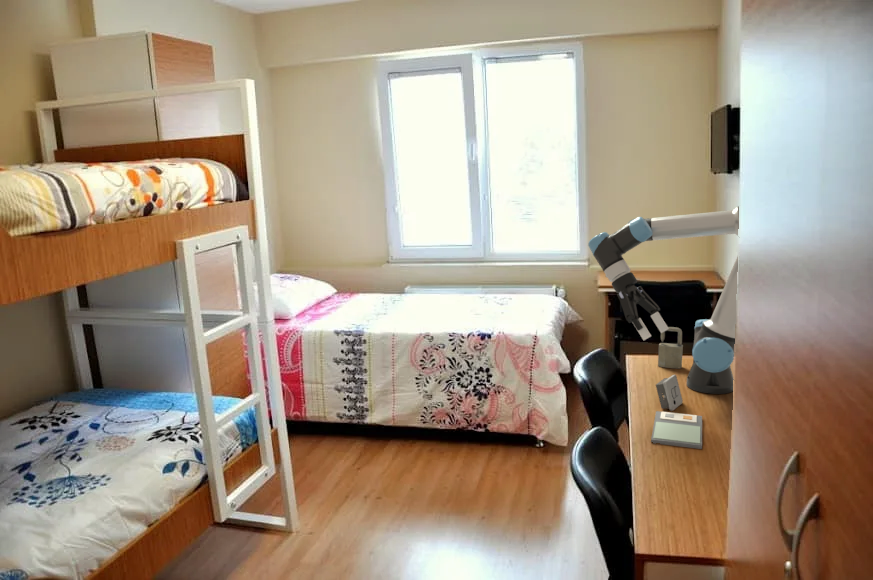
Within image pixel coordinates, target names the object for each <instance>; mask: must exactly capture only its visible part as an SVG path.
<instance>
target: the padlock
mask: <svg viewBox="0 0 873 580" xmlns="http://www.w3.org/2000/svg"><path fill="white" fill-rule="evenodd" d="M667 327H668V328H669V329H668V330H666V331H665V332H663V333H661V332H660V340H661V342H660V343H659V344H658V356H657V358H658V359H657V367H661V368H669V369H682V367H683V366H682V365H683V347H684V345H683V344H682V343H683V331H682V329H681V328H679V327H674V326H667ZM666 332H677V343H667V342H664V340H665V338H666Z"/></svg>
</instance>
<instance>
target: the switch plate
mask: <svg viewBox="0 0 873 580" xmlns="http://www.w3.org/2000/svg"><path fill="white" fill-rule="evenodd" d="M653 421H654V422H653V426H652V434H651V438H650V439H651V440H650V443H651V442H653V443H652V444H656V443H660V444H659V445H666V446H673V447H674V446H675V447H682V448H689V449H690V448H691V449H699V450H703V415H696V414H688V413H681V412H680V413H678V412H670V411H669V412H668V411H659V410H656V411H655V416H654V420H653Z"/></svg>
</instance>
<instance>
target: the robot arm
mask: <svg viewBox="0 0 873 580" xmlns="http://www.w3.org/2000/svg"><path fill="white" fill-rule="evenodd" d="M739 206H740V205H737V206H736V207H735V208H734V209H729V210H722V211H721V210H720V211H710V212H701V213H690V214H679V215H669V216H668V215H667V216H660V217H651V218H647V217H646V218H643V217H642V216H637V217H636V218H633V219H631V220H629V221H628V222H627V223H626V224H625V225H624V226H622V227H620V228H619V229H618V230H616V231H614V232H613V233H611V234H609V233H608V232H607V231H604V232H601V233H598V234H597V235H595V236H593V237H592V238H591V239H590V240H589V241H588V245H587V246H588V247H589V249H590V252H591V253H592V256H593V257H594V259H595V260H596V261H597V263H598V265H599V267H600V268H601V270H602V271H603V273H604V274H605V278H607V280H608V281H609V282H610V283H611V286H612V288H613V290H614V291H615V292H616V296H617V297H618V300H619V303H620V305H621V308H622V312H623V314H624V317H625V320H626V321H627V323H628V324H631V323H632V324H633V326H634V328H635V329H636V331H637V332H638V334H639V335H640V336H639V337H641V339H642V340H643V341H646V340H647V339H649V338H651V337H652V334H651V333H650V331H649V330H648V328H647V326H646V325H645V323H644V322H643V320H642V318H641V317H639V313H638V308H637V305H639V306H641V307H642V308H643V309H644V310H645V311H646V312H647V313H649V314H650V318H651V319H652V321H653V323H654V324H655V326H656V327H657V330H658V331H659V332H660V334H661V333H663V332H665V333H666V332H667V331H666V330H668V329H669V328H668V327H669V326H668V324H667V323H666V322H665V321H664V319H663V317H662V315H661V313H660V312H659V311H661V308H660V306H659V305H658V303H656V302H655V301H654V300H653V299H652V298H651V297H650V295H649V294H648V293H647V292H646V291H645V289H643V287H642V286H641V285H639V286H638V287H637V286H636V284H637V282H638V279H637V278H636V276H635V275H634V273H633V272H632V271H631V268H630V266H629V265H628V263H627V262H626V260H625V259H624V258H623V256H624V255H625V254H626V253H627V252H629V251H631V250H632V249H634V248H636V247H637V246H639V245H641V244H642V243H645V242H650V241H659V240H660V241H661V240H662V241H663V240H672V239H673V240H674V239H675V240H676V239H687V238H697V237H698V238H699V237H711V236H723V235H735V236H738V229H739ZM738 237H739V236H738ZM737 272H738V255H737V256H736V259H735V262H734V263H733V266H732V268H731V271H730V273H729V275H728V277H727V280H726V282H725V285H724V287H723V289H722V292H721V294H720V296H719V299H718V301H717V303H716V306H715V308H714V310H713V312H712V315H711V317H710V318H709V319H707V318H705V319H697V320H696V321H695V324H694V325H695V326H694V328H693V329H694V338H693V339H694V340H693V346H692V350H691V352H692V353H691V356H692V361H693V362H692V365H691V367H690V370H689V371H688V375H687V377H686V387H688V388H689V389H691V390H693V391H696V392H699V393H705V394H711V395H712V394H713V395H721V394H724V395H726V394H729V393H733V392H734V391H733V380H734V381H735V379H734V375H733V372H732V366H731V365H732V363H733V362H734V360H735V359H734V357H735V352H734V344H735V324H736V294H737Z"/></svg>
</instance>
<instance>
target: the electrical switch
mask: <svg viewBox="0 0 873 580" xmlns="http://www.w3.org/2000/svg"><path fill="white" fill-rule="evenodd" d="M655 388H656V392H657V395H658V396H657V397H658V400H659V403H660V408H661V409H669V410H670V411H671V412H672V411H674V410H676V409H677V408H678V407H679V406H680V405H682V404H683V402H684V401H683V397H682V393H681V389H680V384H679V381H678V376H677V375H676V374H672V375H670V376H669V377H665V378H663V379H661V380H660V381H659V382H658V383H656V384H655ZM670 411H669V412H670Z"/></svg>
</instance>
